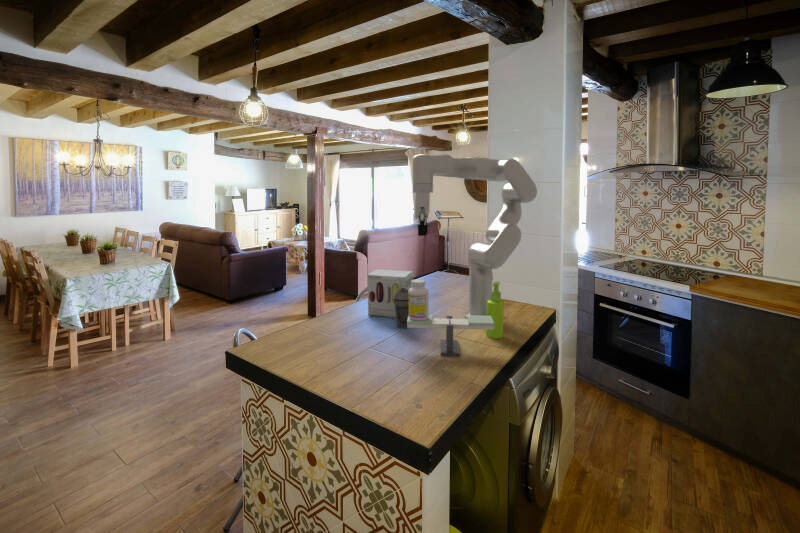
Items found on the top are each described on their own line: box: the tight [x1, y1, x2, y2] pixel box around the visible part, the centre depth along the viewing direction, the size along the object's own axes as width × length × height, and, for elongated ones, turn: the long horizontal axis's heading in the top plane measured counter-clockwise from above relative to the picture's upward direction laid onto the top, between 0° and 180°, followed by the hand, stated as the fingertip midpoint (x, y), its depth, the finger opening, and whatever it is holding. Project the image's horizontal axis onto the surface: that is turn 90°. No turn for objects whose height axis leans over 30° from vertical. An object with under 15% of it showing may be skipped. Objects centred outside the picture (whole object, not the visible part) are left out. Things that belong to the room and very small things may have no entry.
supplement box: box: [367, 268, 414, 318], centre depth 179 cm, size 17×13×18 cm
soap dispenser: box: [485, 281, 505, 340], centre depth 150 cm, size 6×7×20 cm
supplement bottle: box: [408, 278, 430, 321], centre depth 137 cm, size 7×7×13 cm
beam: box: [406, 314, 494, 330], centre depth 137 cm, size 28×8×3 cm, turn 85°
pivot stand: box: [439, 315, 460, 357], centre depth 138 cm, size 6×12×10 cm, turn 175°
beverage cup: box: [394, 277, 409, 330], centre depth 160 cm, size 7×7×20 cm
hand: (422, 234), depth 158 cm, fingers open, 9 cm apart
